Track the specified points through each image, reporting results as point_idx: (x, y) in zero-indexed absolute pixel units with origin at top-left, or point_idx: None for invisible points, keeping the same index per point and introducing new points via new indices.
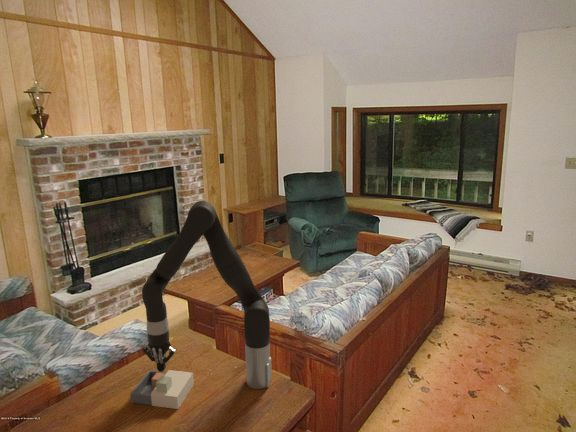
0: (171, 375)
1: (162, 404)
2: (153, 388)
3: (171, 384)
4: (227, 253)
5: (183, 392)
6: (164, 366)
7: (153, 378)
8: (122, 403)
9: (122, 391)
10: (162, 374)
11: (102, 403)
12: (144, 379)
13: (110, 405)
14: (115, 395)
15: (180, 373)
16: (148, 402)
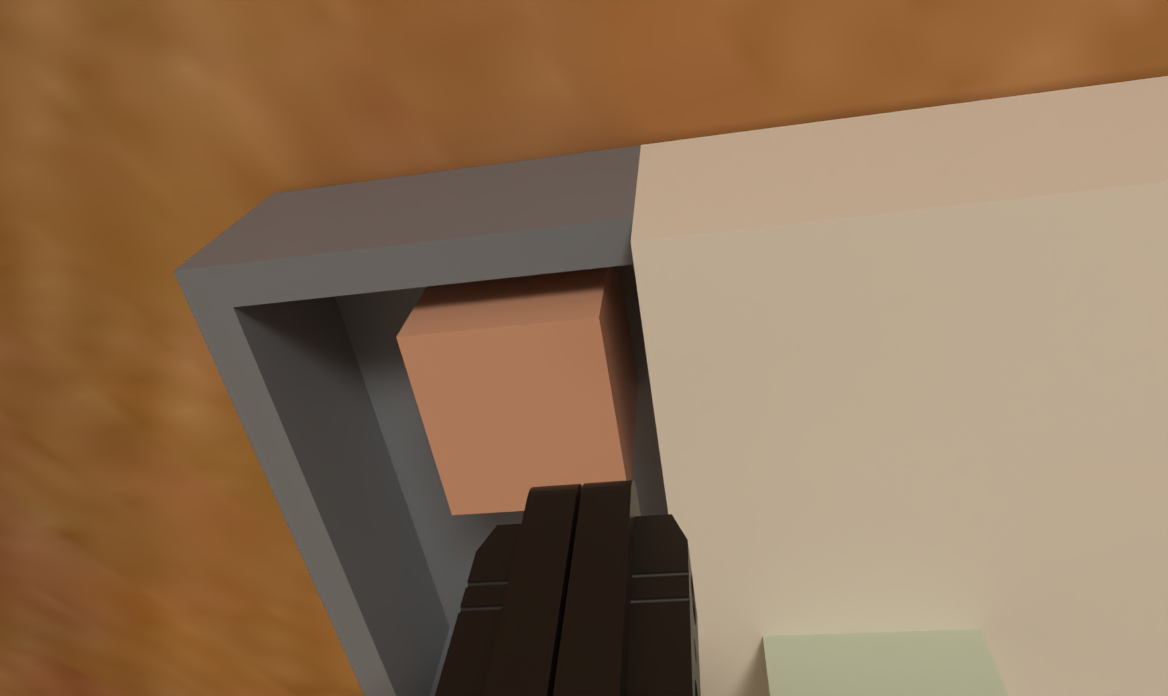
0: (817, 398)
1: None
2: None
3: (991, 676)
4: None
5: None
6: (696, 649)
7: (474, 496)
8: (341, 644)
9: (155, 504)
10: (562, 360)
11: (155, 676)
12: (321, 502)
13: (254, 682)
14: (152, 570)
15: (1017, 278)
16: None
